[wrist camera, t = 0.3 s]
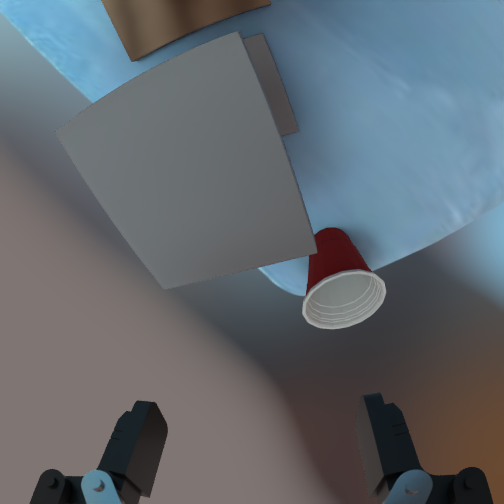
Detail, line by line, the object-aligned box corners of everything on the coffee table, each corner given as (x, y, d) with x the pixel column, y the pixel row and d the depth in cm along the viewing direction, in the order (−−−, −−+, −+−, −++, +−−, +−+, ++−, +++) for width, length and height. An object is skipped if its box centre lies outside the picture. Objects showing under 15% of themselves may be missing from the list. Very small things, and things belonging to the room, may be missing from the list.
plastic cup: (366, 261, 46) (385, 321, 37) (301, 273, 48) (308, 336, 39) (363, 205, 39) (390, 266, 30) (288, 220, 41) (294, 285, 32)
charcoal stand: (203, 158, 35) (152, 292, 19) (161, 73, 28) (44, 140, 12) (297, 127, 32) (334, 248, 16) (262, 33, 25) (261, 22, 9)
